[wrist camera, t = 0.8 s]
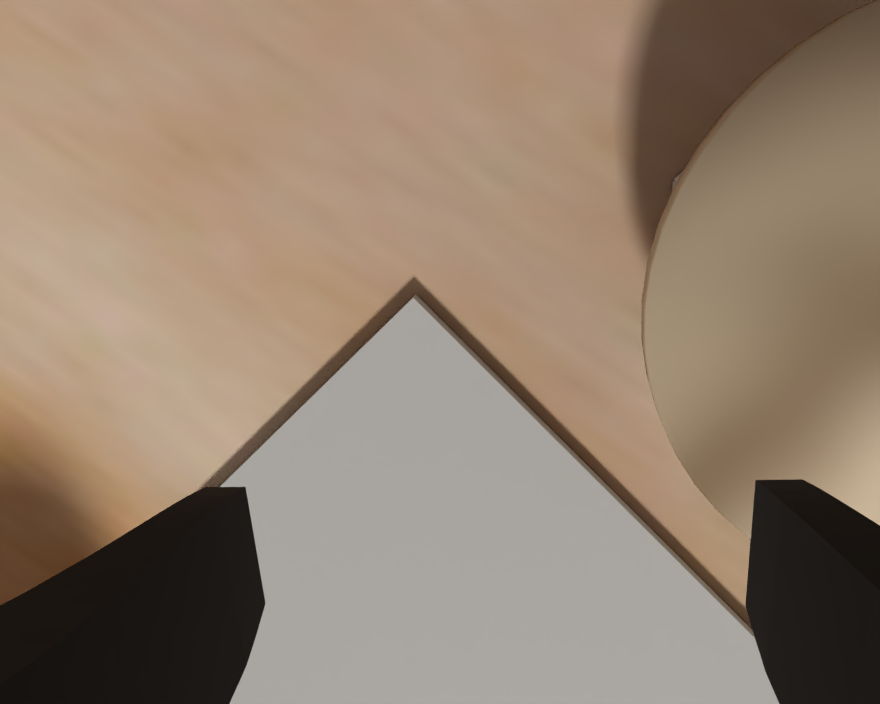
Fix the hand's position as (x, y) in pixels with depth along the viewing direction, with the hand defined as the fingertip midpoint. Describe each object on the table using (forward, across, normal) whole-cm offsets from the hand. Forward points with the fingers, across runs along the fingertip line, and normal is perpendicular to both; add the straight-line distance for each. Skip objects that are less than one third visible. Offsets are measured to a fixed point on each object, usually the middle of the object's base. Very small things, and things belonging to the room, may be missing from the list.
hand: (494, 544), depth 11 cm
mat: (+10, +2, +11) cm, 15 cm away
